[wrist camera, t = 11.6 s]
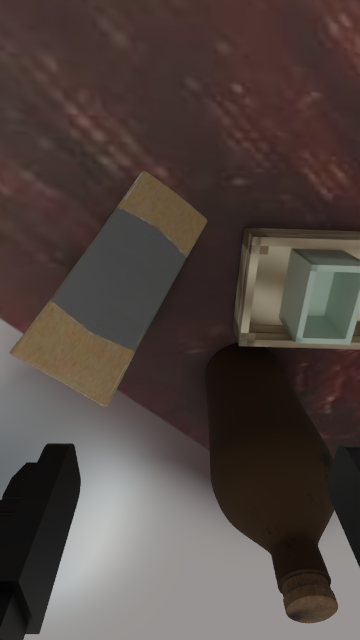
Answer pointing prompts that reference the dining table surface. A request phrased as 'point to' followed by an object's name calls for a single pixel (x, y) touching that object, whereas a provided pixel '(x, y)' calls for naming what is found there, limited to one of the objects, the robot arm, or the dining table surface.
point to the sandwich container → (113, 291)
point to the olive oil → (271, 473)
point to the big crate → (278, 282)
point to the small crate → (321, 296)
